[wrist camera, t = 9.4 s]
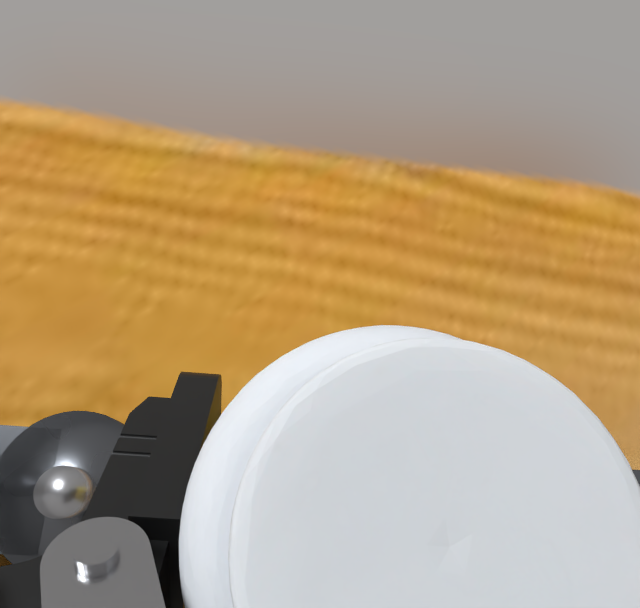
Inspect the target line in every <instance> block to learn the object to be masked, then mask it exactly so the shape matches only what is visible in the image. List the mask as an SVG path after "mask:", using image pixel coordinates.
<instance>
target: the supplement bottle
mask: <svg viewBox="0 0 640 608" xmlns="http://www.w3.org/2000/svg"><path fill="white" fill-rule="evenodd" d="M179 571H180V582H181V591H182V597H183V602H184V606H185V608H640V486H639V484H638V481H637V479H636V477H635V475H634V473H633V471H632V469H631V467H630V465H629V463H628V461H627V459H626V457H625V456H624V454H623V453H622V451H621V450H620V448H619V446H618V445H617V443H616V442H615V440H614V438H613V437H612V436H611V434H610V433H609V432H608V430H607V429H606V428H605V426H604V425H603V424H602V422H601V421H600V420H599V418H598V417H597V416H596V415H595V414H594V413H593V412H592V411H591V410H590V409H589V408H588V407H587V406H586V405H585V404H584V403H583V402H582V401H581V400H580V399H579V398H578V397H577V396H576V395H575V394H574V393H573V392H572V391H571V390H569V389H568V388H567V387H565V386H564V385H563V384H562V383H560V382H559V381H558V380H557V379H555V378H554V377H552V376H551V375H549V374H547V373H546V372H544V371H543V370H541V369H540V368H538V367H536V366H534V365H533V364H531V363H529V362H527V361H526V360H524V359H522V358H519V357H517V356H515V355H512V354H510V353H508V352H506V351H503V350H500V349H497V348H493V347H490V346H486V345H483V344H479V343H476V342H472V341H465V340H462V339H459V338H457V337H454V336H451V335H448V334H445V333H441V332H437V331H433V330H429V329H423V328H417V327H408V326H393V325H380V326H369V327H361V328H355V329H350V330H345V331H340V332H336V333H333V334H329V335H326V336H323V337H320V338H318V339H315V340H312V341H310V342H308V343H306V344H304V345H302V346H300V347H298V348H296V349H294V350H292V351H290V352H289V353H287V354H285V355H283V356H281V357H280V358H279V359H277V360H276V361H274V362H273V363H272V364H270V365H269V366H267V367H266V368H265V369H263V370H262V371H261V372H259V373H258V374H257V375H256V376H255V377H254V378H253V379H252V380H251V381H249V382H248V383H247V384H246V385H245V386H244V387H243V389H242V390H241V391H240V392H239V393H238V394H237V395H236V397H235V398H234V399H233V400H232V401H231V402H230V403H229V405H228V406H227V407H226V409H225V410H224V411H223V413H222V414H221V416H220V417H219V419H218V420H217V422H216V423H215V425H214V426H213V428H212V429H211V431H210V433H209V435H208V437H207V439H206V440H205V442H204V444H203V446H202V448H201V451H200V453H199V455H198V457H197V460H196V462H195V464H194V467H193V470H192V473H191V476H190V479H189V482H188V485H187V490H186V494H185V498H184V503H183V508H182V514H181V522H180V533H179Z"/></svg>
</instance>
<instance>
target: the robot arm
mask: <svg viewBox="0 0 640 608" xmlns="http://www.w3.org/2000/svg"><path fill="white" fill-rule="evenodd" d="M221 390H222V380H221V375H219V374H205V373H192V372H181V373H180V375H179V377H178V380H177V383H176V385H175V388H174V391H173V394H172V396H171V398H160V397H148V398H147V399H146V400H145V401H143V402H142V403H141V404H140V405H139V406H138V407H136V408H135V409H134V410H133V411H132V412H131V413H130V414H129V416H128V418H127V420H126V423H125V425H124V427H123V429H122V431H121V435H120V438H118V440H117V443H116V445H115V447H114V449H113V454H112V455H111V456H110V458H109V460H108V463H107V465H106V467H105V469H104V472H103V474H102V476H101V478H100V480H99V483H98V485H97V487H96V489H95V492H94V494H93V496H92V498H91V500H90V503H89V505H88V507H87V509H86V512H85V514H84V516H83V518H82V520H81V522H80V523H77V524H75V525H73V526H71V527H69V528H68V529H66V530H64V531H63V532H62V533H60V534H59V535H58V536H57V537H56V538H55V539H54V540H53V541H52V542H51V543H50V545H49V546H48V547H47V548H46V550H45V552H44V554H43V555H41V556H39V557H36V558H33V559H31V560H28V561H24V562H20V563H16V564H11V565H6V566H1V567H0V608H185V606H184V602H183V597H182V591H181V582H180V571H179V533H180V522H181V514H182V508H183V503H184V498H185V494H186V490H187V485H188V482H189V479H190V476H191V473H192V470H193V467H194V464H195V462H196V460H197V457H198V455H199V453H200V451H201V448H202V446H203V444H204V442H205V440H206V439H207V437H208V435H209V433H210V431H211V429H212V428H213V426H214V425H215V423H216V422H217V420H218V419H219V417H220V416H221Z"/></svg>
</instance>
